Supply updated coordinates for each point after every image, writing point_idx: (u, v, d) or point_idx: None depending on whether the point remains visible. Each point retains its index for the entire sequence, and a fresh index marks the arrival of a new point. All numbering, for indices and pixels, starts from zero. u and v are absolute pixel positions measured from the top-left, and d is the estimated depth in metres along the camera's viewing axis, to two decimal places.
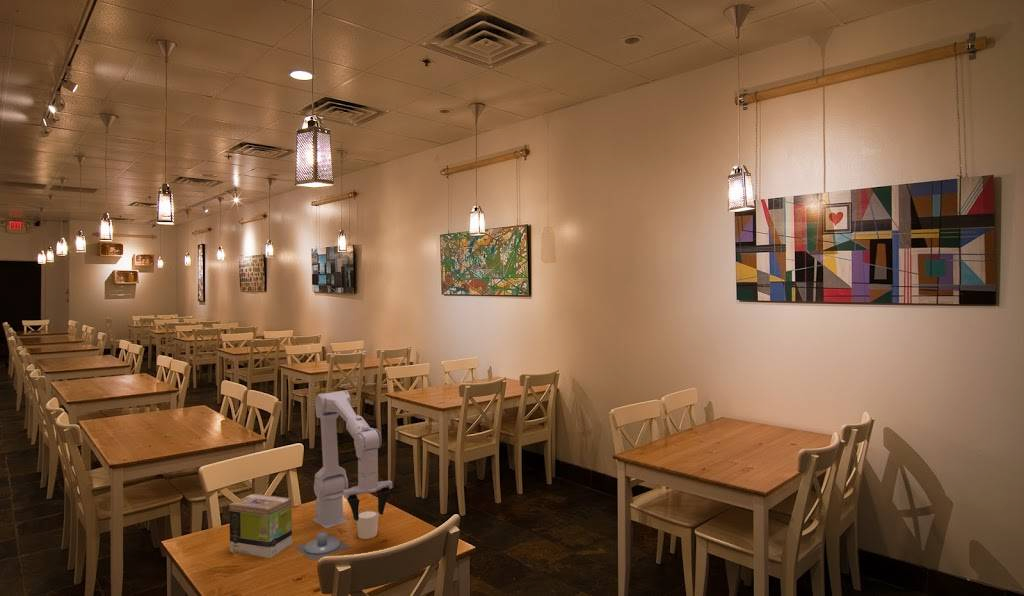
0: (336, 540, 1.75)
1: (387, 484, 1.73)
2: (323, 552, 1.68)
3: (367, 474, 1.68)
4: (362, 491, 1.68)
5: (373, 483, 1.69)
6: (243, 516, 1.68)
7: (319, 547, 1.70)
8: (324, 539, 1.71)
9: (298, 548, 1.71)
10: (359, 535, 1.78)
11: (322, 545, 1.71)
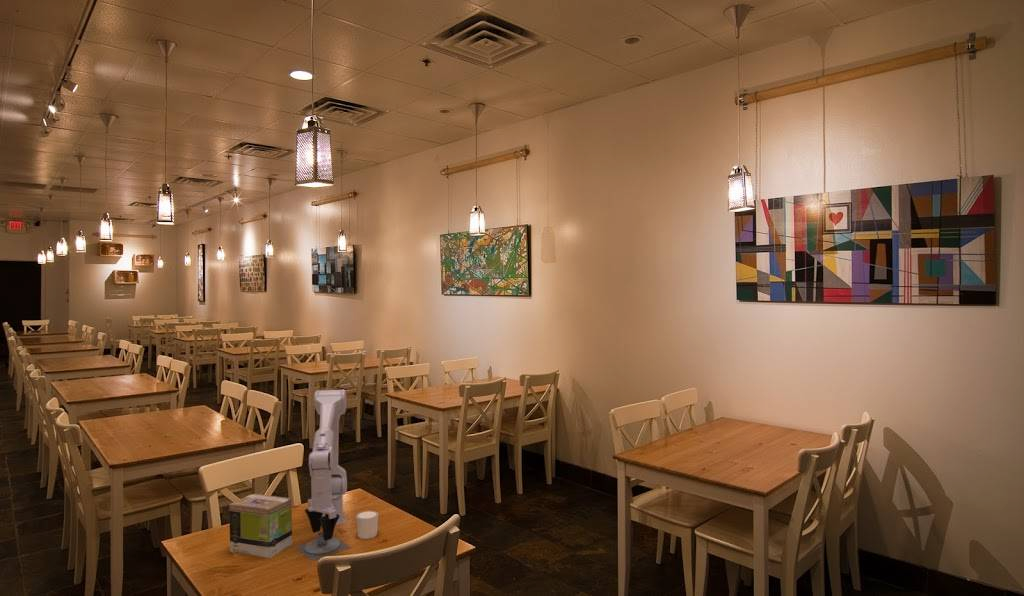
0: (336, 540, 1.75)
1: (326, 512, 1.67)
2: (323, 552, 1.68)
3: (311, 491, 1.71)
4: (310, 506, 1.72)
5: (313, 503, 1.70)
6: (243, 516, 1.68)
7: (319, 547, 1.70)
8: None
9: (298, 548, 1.71)
10: (359, 535, 1.78)
11: (322, 545, 1.71)
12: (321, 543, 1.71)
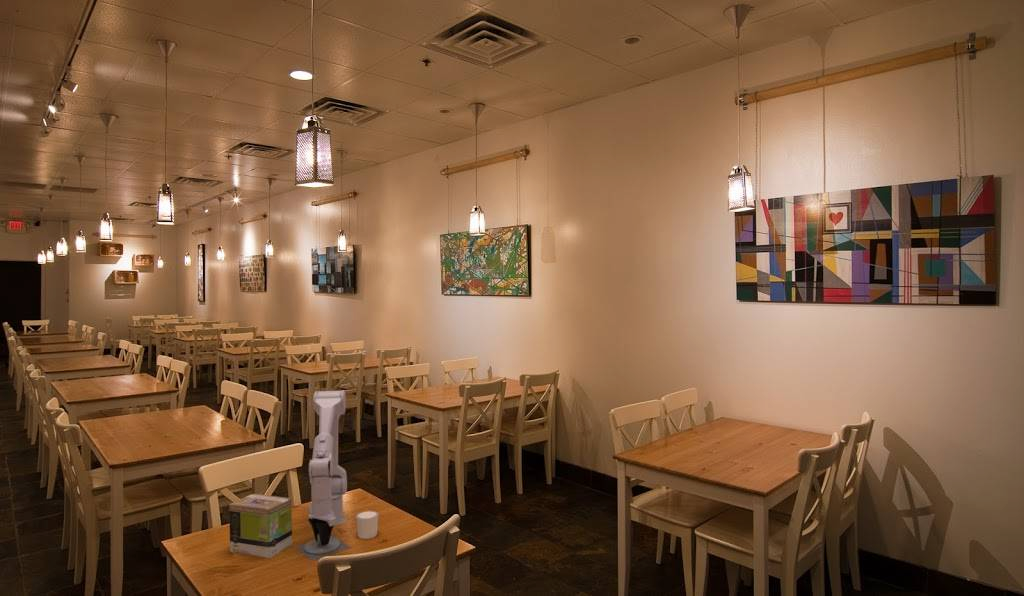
0: (336, 540, 1.75)
1: (326, 519, 1.67)
2: (323, 552, 1.68)
3: None
4: None
5: (313, 510, 1.70)
6: (243, 516, 1.68)
7: (319, 547, 1.70)
8: None
9: (298, 548, 1.71)
10: (359, 535, 1.78)
11: None
12: None
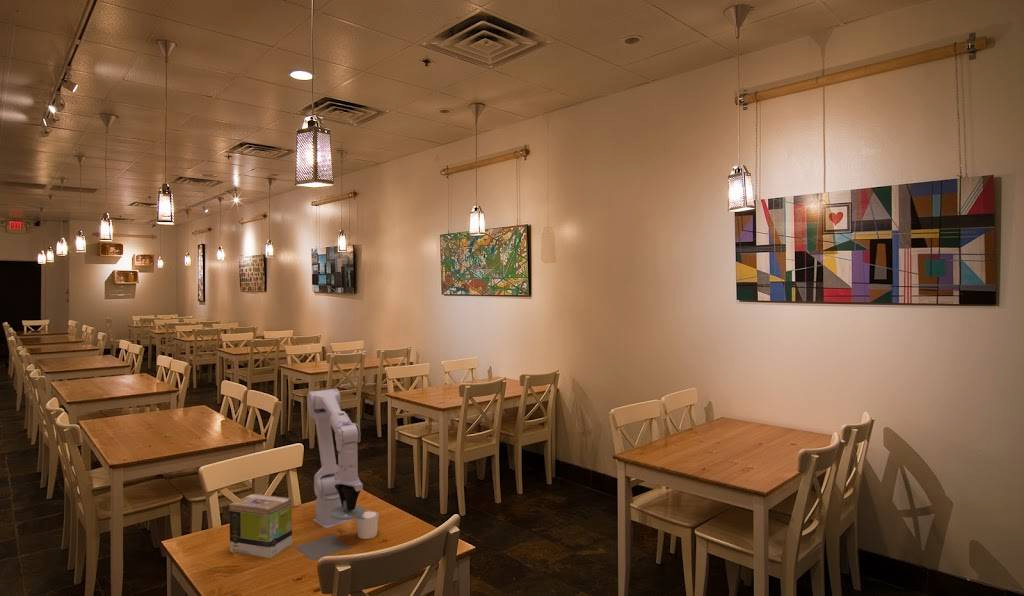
0: (361, 507, 1.79)
1: (353, 485, 1.72)
2: (349, 517, 1.72)
3: (338, 465, 1.76)
4: (337, 479, 1.77)
5: (340, 476, 1.74)
6: (243, 516, 1.68)
7: (345, 513, 1.75)
8: None
9: (298, 548, 1.71)
10: (359, 535, 1.78)
11: (348, 511, 1.75)
12: None
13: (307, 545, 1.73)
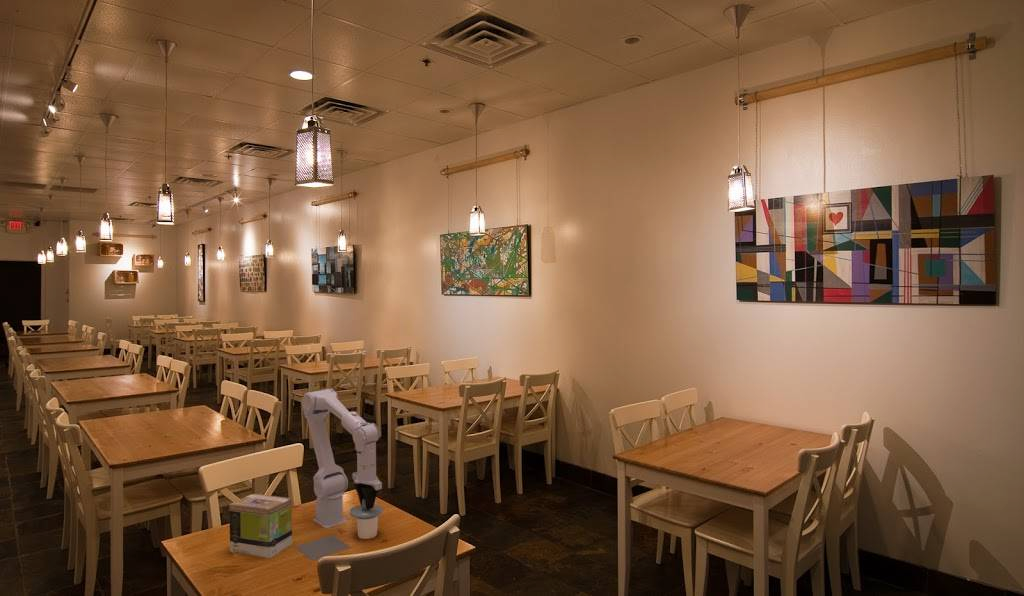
0: (379, 506, 1.83)
1: (372, 484, 1.75)
2: (368, 515, 1.75)
3: (357, 464, 1.79)
4: (356, 478, 1.80)
5: (359, 475, 1.78)
6: (243, 516, 1.68)
7: (364, 511, 1.78)
8: None
9: (298, 548, 1.71)
10: (359, 535, 1.78)
11: (366, 510, 1.79)
12: None
13: (307, 545, 1.73)
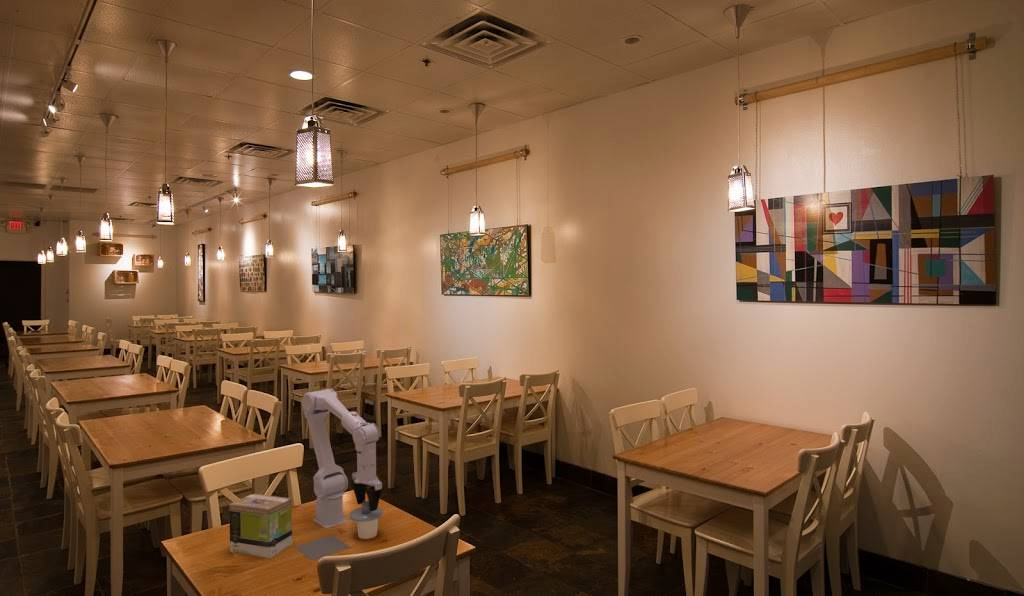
0: (379, 509, 1.83)
1: (372, 484, 1.75)
2: (369, 518, 1.76)
3: (357, 464, 1.79)
4: (356, 478, 1.80)
5: (359, 475, 1.78)
6: (243, 516, 1.68)
7: (364, 514, 1.78)
8: None
9: (298, 548, 1.71)
10: (359, 535, 1.78)
11: (366, 513, 1.79)
12: (365, 511, 1.79)
13: (307, 545, 1.73)
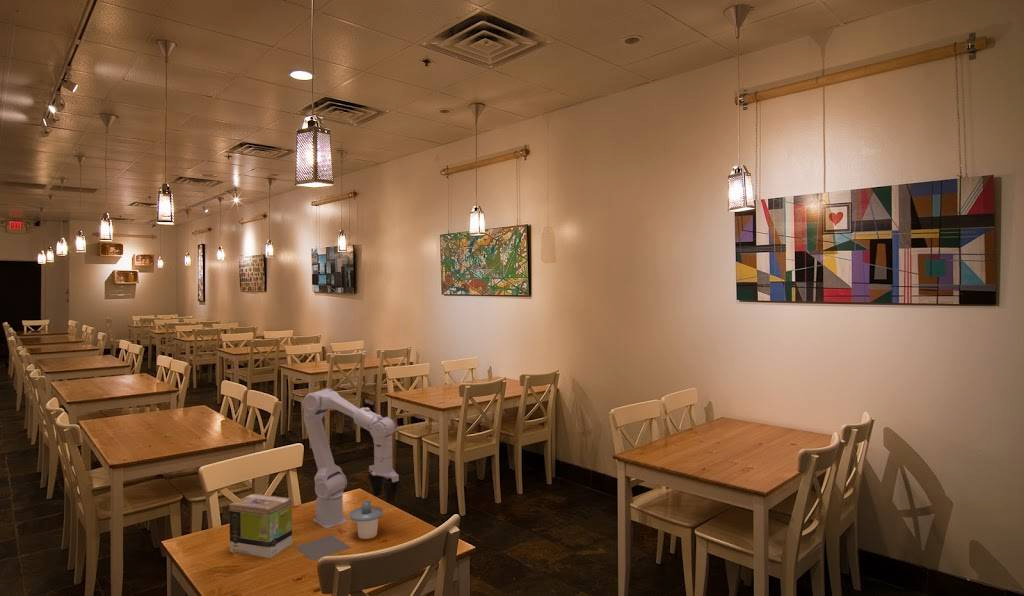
0: (379, 508, 1.83)
1: (389, 476, 1.79)
2: (369, 518, 1.76)
3: (374, 457, 1.83)
4: (372, 471, 1.85)
5: (376, 468, 1.82)
6: (243, 516, 1.68)
7: (364, 514, 1.78)
8: (369, 507, 1.79)
9: (298, 548, 1.71)
10: (359, 535, 1.78)
11: (366, 513, 1.79)
12: (365, 511, 1.79)
13: (307, 545, 1.73)
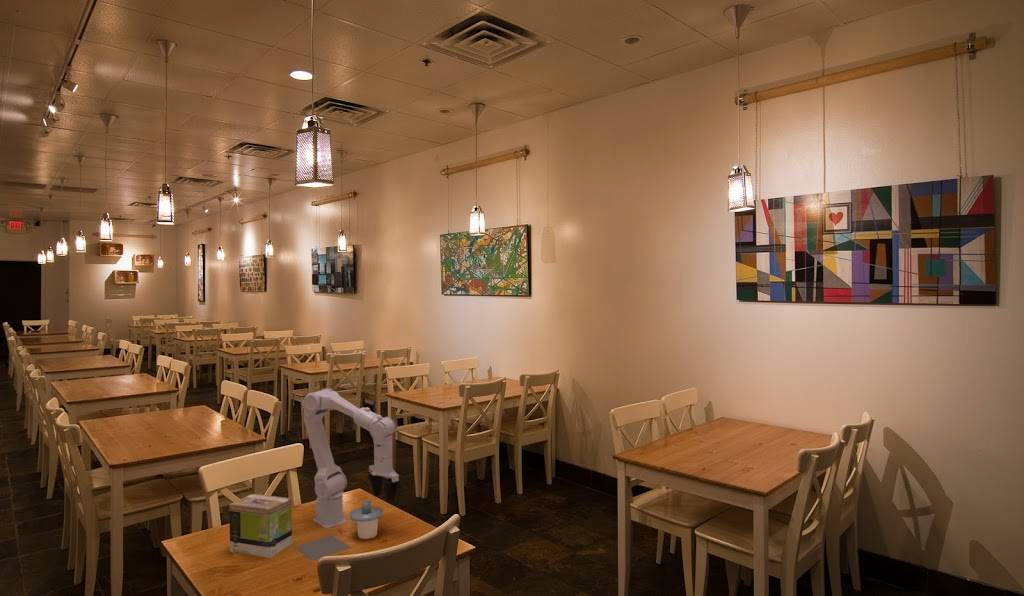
0: (379, 509, 1.83)
1: (389, 476, 1.79)
2: (369, 518, 1.76)
3: (374, 457, 1.83)
4: (372, 471, 1.85)
5: (376, 468, 1.82)
6: (243, 516, 1.68)
7: (364, 514, 1.78)
8: (369, 507, 1.79)
9: (298, 548, 1.71)
10: (359, 535, 1.78)
11: (366, 513, 1.79)
12: (365, 511, 1.79)
13: (307, 545, 1.73)
